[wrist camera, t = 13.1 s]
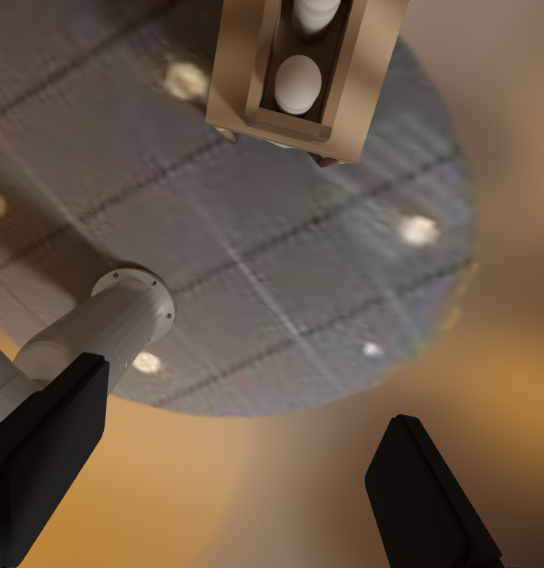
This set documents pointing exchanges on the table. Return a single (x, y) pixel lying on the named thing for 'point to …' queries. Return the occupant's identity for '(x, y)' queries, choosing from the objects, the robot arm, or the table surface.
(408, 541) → the robot arm
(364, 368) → the table surface
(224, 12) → the tan flanged panel
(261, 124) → the tray
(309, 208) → the table surface
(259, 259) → the table surface
